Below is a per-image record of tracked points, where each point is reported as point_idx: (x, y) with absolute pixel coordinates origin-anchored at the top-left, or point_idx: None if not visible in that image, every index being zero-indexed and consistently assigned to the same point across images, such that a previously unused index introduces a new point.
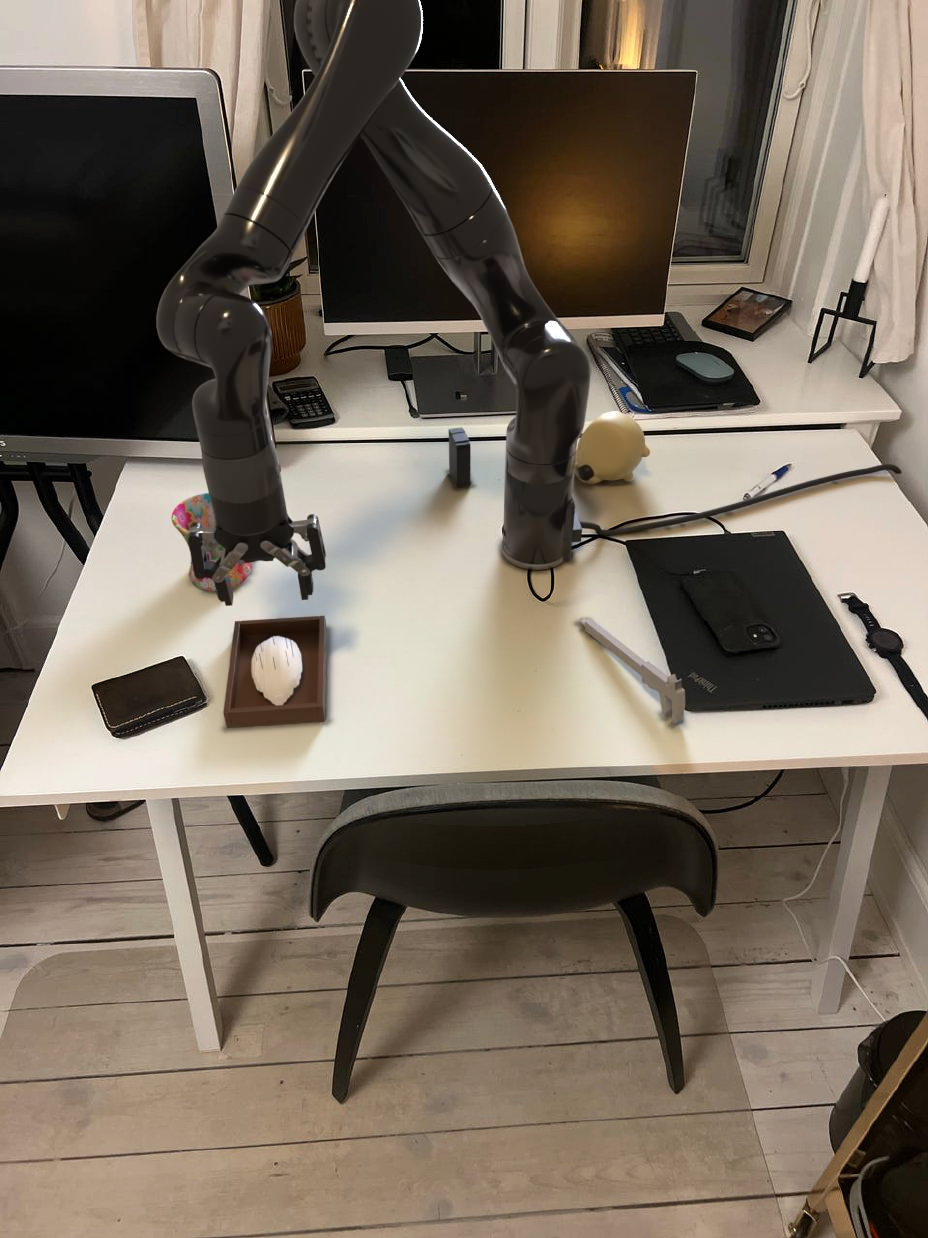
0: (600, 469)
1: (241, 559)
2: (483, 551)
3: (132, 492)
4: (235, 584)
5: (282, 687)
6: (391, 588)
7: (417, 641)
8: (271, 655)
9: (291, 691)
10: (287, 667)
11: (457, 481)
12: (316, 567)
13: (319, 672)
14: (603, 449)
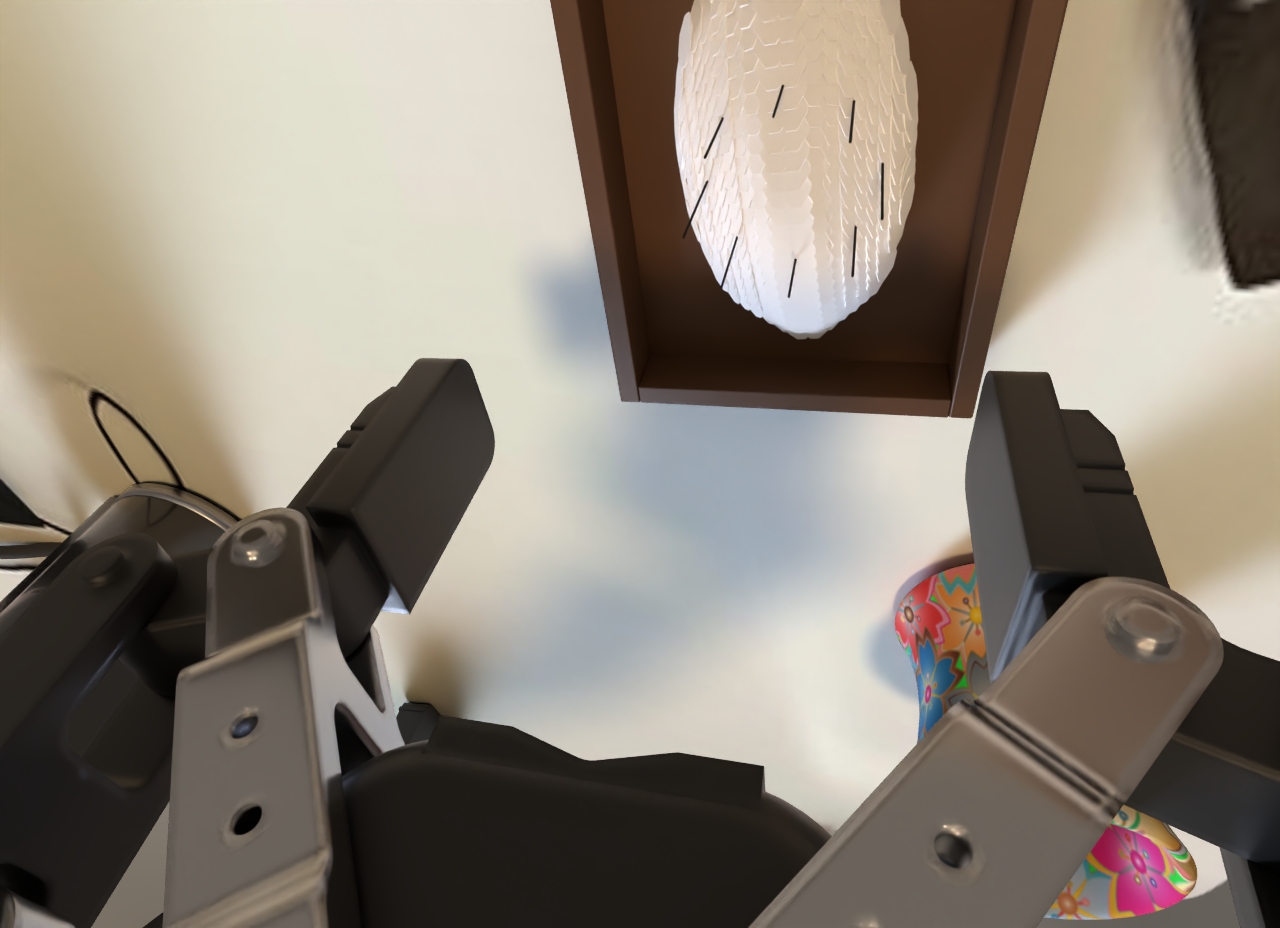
0: None
1: (787, 834)
2: None
3: (1213, 866)
4: (953, 572)
5: None
6: (483, 486)
7: (340, 280)
8: (803, 181)
9: None
10: (724, 104)
11: (419, 719)
12: (143, 564)
13: (582, 83)
14: None
